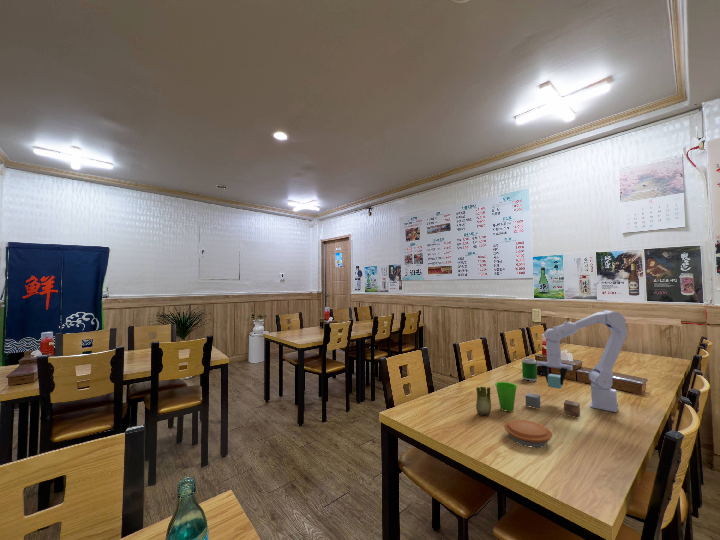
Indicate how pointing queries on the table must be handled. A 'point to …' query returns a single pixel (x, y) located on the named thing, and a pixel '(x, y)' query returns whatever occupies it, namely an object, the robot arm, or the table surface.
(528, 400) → the charcoal block
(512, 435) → the pie
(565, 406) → the walnut block
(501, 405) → the cup
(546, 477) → the table surface
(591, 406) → the robot arm
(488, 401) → the fennel bulb
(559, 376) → the teal block
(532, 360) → the soda can
